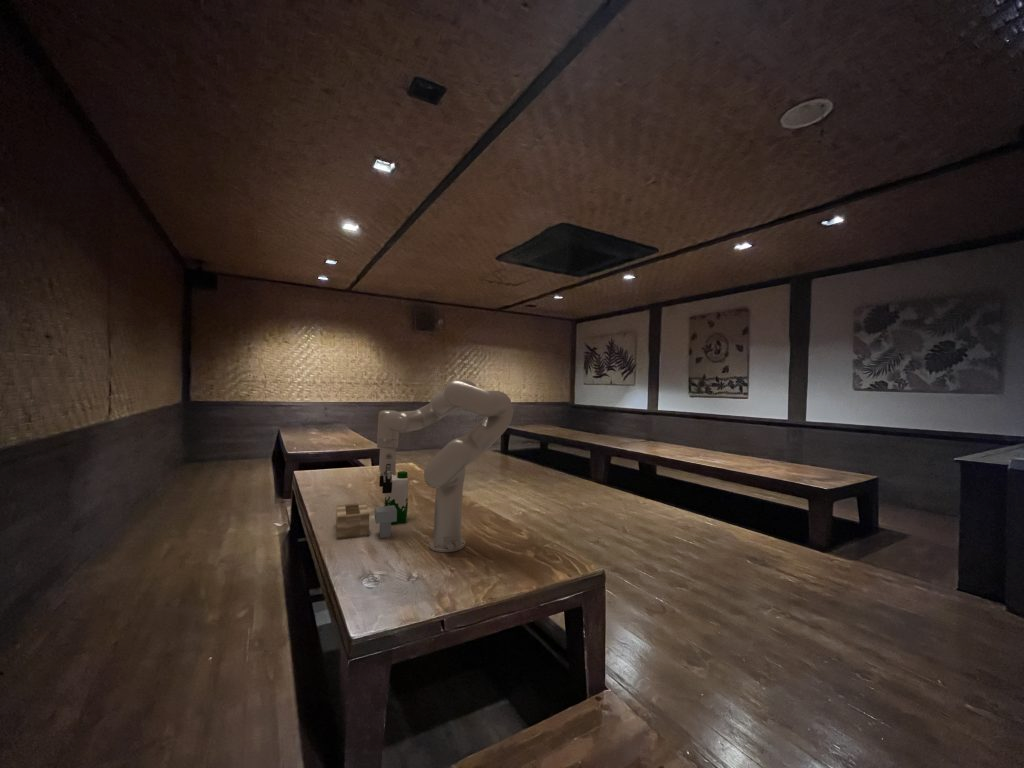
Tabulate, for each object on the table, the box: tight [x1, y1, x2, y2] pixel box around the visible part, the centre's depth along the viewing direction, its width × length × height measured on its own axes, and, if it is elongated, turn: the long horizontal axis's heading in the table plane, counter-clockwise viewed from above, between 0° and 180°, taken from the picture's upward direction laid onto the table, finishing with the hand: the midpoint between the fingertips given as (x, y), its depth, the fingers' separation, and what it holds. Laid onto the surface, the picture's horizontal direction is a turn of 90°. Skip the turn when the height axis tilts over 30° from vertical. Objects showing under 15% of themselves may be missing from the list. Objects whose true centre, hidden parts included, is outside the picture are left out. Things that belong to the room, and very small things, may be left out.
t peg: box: [374, 505, 397, 539], centre depth 146 cm, size 7×7×10 cm
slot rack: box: [335, 502, 370, 541], centre depth 151 cm, size 16×11×8 cm
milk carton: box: [384, 470, 409, 526], centre depth 163 cm, size 9×9×20 cm
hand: (385, 489), depth 147 cm, fingers open, 9 cm apart
